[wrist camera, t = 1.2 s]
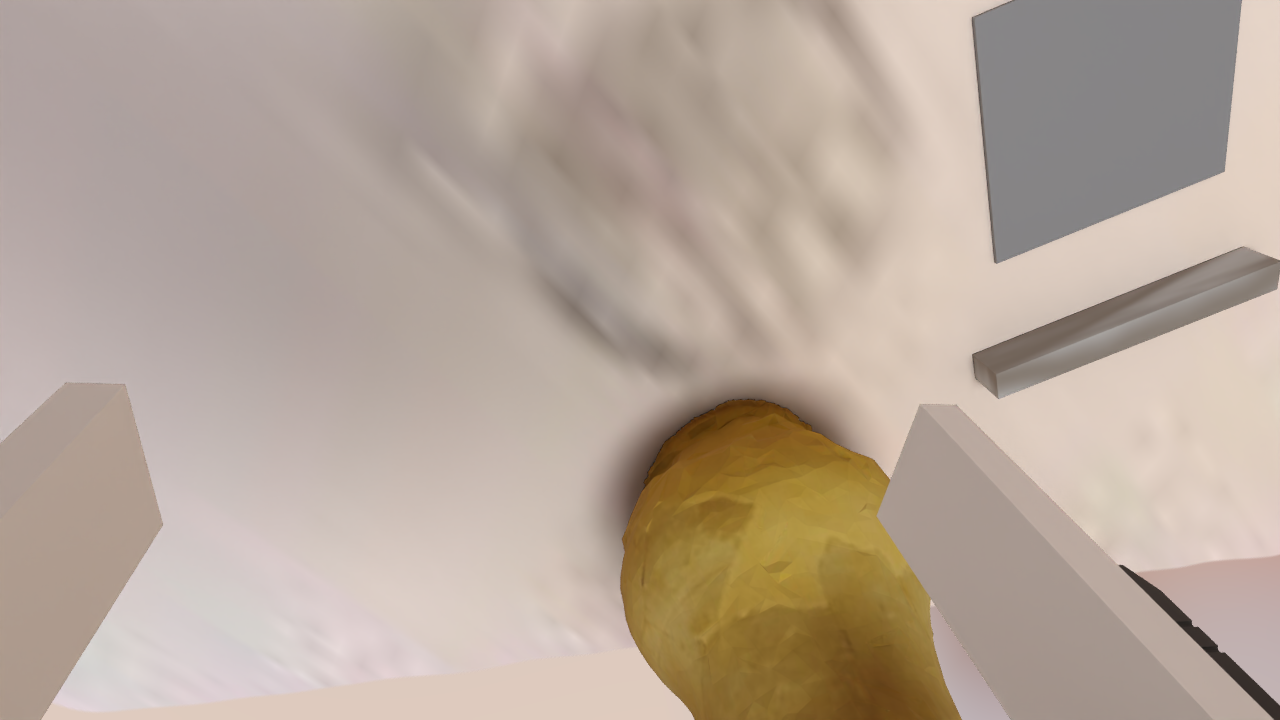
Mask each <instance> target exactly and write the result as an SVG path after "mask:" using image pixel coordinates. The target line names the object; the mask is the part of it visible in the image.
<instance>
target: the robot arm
mask: <svg viewBox="0 0 1280 720" xmlns="http://www.w3.org/2000/svg"><path fill="white" fill-rule="evenodd" d="M877 518H878V519H879V521H880V522H881V524H882V525H883V527H884V528H885V530H886V531H887V533H888V534H889V536H890V537H891V539H892V540H893V542H894V543H895V545H896V546H897V548H898V549H899V551H900V553H901V554H902V556H903V557H904V559H905V560H906V562H907V563H908V565H909V566H910V568H911V569H912V571H913V572H914V574H915V575H916V577H917V578H918V580H919V581H920V583H921V584H922V586H923V587H924V589H925V590H926V592H927V593H928V595H929V596H930V598H931V600H932V601H933V603H934V604H935V606H936V607H937V609H938V610H939V612H940V613H941V615H942V616H943V618H944V619H945V621H946V622H947V624H948V625H949V627H950V628H951V630H952V631H953V633H954V634H955V636H956V637H957V639H958V640H959V642H960V643H961V645H962V646H963V648H964V649H965V651H966V652H967V654H968V656H969V657H970V659H971V660H972V662H973V663H974V665H975V666H976V667H977V669H978V671H979V672H980V674H981V675H982V677H983V678H984V680H985V681H986V683H987V684H988V686H989V687H990V689H991V690H992V692H993V693H994V695H995V696H996V698H997V699H998V701H999V702H1000V704H1001V706H1002V707H1003V709H1004V710H1005V712H1006V713H1007V715H1008V716H1009V718H1010V719H1011V720H1280V705H1279V704H1278V703H1276V701H1274V700H1273V699H1272V698H1271V697H1270V696H1269V695H1268V694H1267V693H1266V692H1265V691H1264V690H1263V689H1262V688H1261V687H1260V686H1259V685H1258V684H1257V683H1256V682H1255V681H1254V680H1253V679H1252V678H1251V677H1250V676H1249V675H1248V674H1246V673H1245V672H1244V671H1243V670H1242V669H1241V668H1240V667H1239V666H1238V665H1237V664H1236V663H1235V662H1234V661H1233V660H1232V659H1231V658H1230V657H1229V656H1228V655H1227V654H1226V653H1221V652H1219V651H1218V645H1216V644H1215V643H1214V642H1213V641H1212V640H1211V639H1210V638H1209V637H1208V636H1207V635H1206V634H1205V633H1204V632H1203V631H1202V630H1201V629H1200V628H1199V627H1193V625H1192V621H1191V619H1189V618H1188V617H1187V616H1186V615H1185V614H1184V613H1183V612H1182V611H1181V610H1180V609H1179V608H1178V607H1177V606H1176V605H1175V604H1174V603H1173V602H1172V601H1171V600H1170V599H1169V598H1168V597H1167V596H1166V595H1165V594H1164V593H1163V592H1162V591H1160V590H1159V589H1157V588H1156V587H1154V586H1153V585H1152V584H1150V583H1148V582H1147V581H1146V580H1144V579H1143V578H1141V577H1140V576H1138V575H1137V574H1135V573H1134V572H1132V571H1131V570H1129V569H1128V568H1126V567H1125V566H1123V565H1117V564H1116V563H1115V562H1114V561H1113V560H1112V559H1111V558H1110V557H1109V556H1108V555H1107V554H1106V553H1105V552H1104V551H1103V550H1102V549H1101V548H1100V547H1099V546H1098V545H1097V544H1096V543H1095V542H1094V541H1093V540H1092V539H1091V538H1090V537H1089V536H1088V535H1087V534H1086V533H1085V532H1084V531H1083V530H1082V529H1081V528H1080V527H1079V526H1078V525H1077V524H1076V523H1075V522H1074V521H1073V520H1072V519H1071V518H1070V517H1069V516H1068V515H1067V514H1066V513H1065V512H1064V511H1063V510H1062V509H1061V508H1060V507H1059V506H1058V505H1057V504H1056V503H1055V502H1054V501H1053V500H1052V499H1051V498H1050V497H1049V496H1048V495H1047V494H1046V493H1045V492H1044V491H1043V490H1042V489H1041V488H1040V487H1039V486H1038V485H1037V484H1036V483H1035V482H1034V481H1033V480H1032V479H1031V478H1030V477H1029V476H1028V475H1027V474H1026V473H1025V472H1024V471H1023V470H1022V469H1021V468H1020V467H1019V466H1018V465H1017V464H1016V463H1015V462H1014V461H1012V460H1011V459H1010V458H1009V457H1008V456H1007V455H1006V454H1005V453H1004V452H1003V451H1002V450H1001V449H1000V448H999V447H998V446H997V445H996V444H995V443H994V442H993V441H992V440H991V439H990V438H989V437H988V436H987V435H986V434H985V433H984V432H983V431H982V430H981V429H980V428H979V427H978V426H977V425H976V424H975V423H974V422H973V421H972V420H971V419H970V418H969V417H968V416H967V415H966V414H965V413H964V412H963V411H962V410H961V409H960V408H959V407H958V406H957V405H942V404H920V405H919V408H918V411H917V413H916V416H915V418H914V421H913V423H912V426H911V429H910V431H909V434H908V436H907V439H906V441H905V444H904V447H903V449H902V452H901V454H900V457H899V459H898V462H897V465H896V467H895V470H894V472H893V475H892V477H891V480H890V483H889V485H888V488H887V490H886V493H885V495H884V498H883V501H882V503H881V506H880V508H879V511H878V513H877ZM162 526H163V522H162V519H161V515H160V511H159V508H158V504H157V500H156V497H155V493H154V489H153V485H152V482H151V478H150V474H149V471H148V467H147V463H146V460H145V456H144V452H143V448H142V445H141V441H140V437H139V434H138V430H137V426H136V423H135V419H134V415H133V411H132V408H131V404H130V400H129V397H128V393H127V389H126V386H125V384H97V383H65V384H64V385H63V386H62V387H61V388H59V389H58V390H57V391H56V392H55V393H54V394H53V395H52V396H51V397H50V398H49V399H48V400H47V401H46V402H44V403H43V404H42V405H41V406H40V407H39V408H38V409H37V410H36V411H35V412H34V413H33V414H32V415H31V416H29V417H28V418H27V419H26V420H25V421H24V422H23V423H22V424H21V425H20V426H19V427H18V428H17V429H15V430H14V431H13V432H12V433H11V434H10V435H9V436H8V437H7V438H6V439H5V440H4V441H3V442H2V443H0V720H41V719H42V717H43V716H44V714H45V713H46V711H47V709H48V708H49V706H50V705H51V703H52V701H53V700H54V698H55V697H56V695H57V693H58V692H59V690H60V689H61V687H62V685H63V684H64V682H65V681H66V679H67V677H68V676H69V674H70V673H71V671H72V669H73V668H74V666H75V665H76V663H77V661H78V660H79V658H80V657H81V655H82V653H83V652H84V650H85V649H86V647H87V645H88V644H89V642H90V641H91V639H92V637H93V636H94V634H95V633H96V631H97V629H98V628H99V626H100V625H101V623H102V622H103V620H104V618H105V617H106V615H107V614H108V612H109V610H110V609H111V607H112V606H113V604H114V602H115V601H116V599H117V598H118V596H119V594H120V593H121V591H122V590H123V588H124V586H125V585H126V583H127V582H128V580H129V578H130V577H131V575H132V574H133V572H134V570H135V569H136V567H137V566H138V564H139V562H140V561H141V559H142V558H143V556H144V554H145V553H146V551H147V550H148V548H149V546H150V545H151V543H152V542H153V540H154V538H155V537H156V535H157V534H158V532H159V530H160V529H161V527H162Z"/></svg>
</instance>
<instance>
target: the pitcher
mask: <svg viewBox="0 0 1280 720" xmlns="http://www.w3.org/2000/svg"><path fill="white" fill-rule="evenodd" d="M798 419H799V417H798V416H796V415H793V413H792V412H791V411H790V410H789V409H787V408H781V407H780V406H779V405H776V404H774V403H769V402H766V401H764V400H759V401H755V400H749V399H748V400H744V401H743V400H741V399H740V400H736V401H735V400H734V399H733V400H732V401H729V400H728V402H726V403H724V404H720V405H718V406H717V407H716V409H715V410H710V411H709V412H708V413H706V414H702V415H700V417H694V420H691V422H690V423H688V424H686V425H685V426H684V428H682V427H681V430H678V432H677V434H676V435H675V436H674V435H673V436H672V437H671V438H669V439H668V440H667V441H665V443H664V444H663V446H662V449H660V452H659V453H658V455H657V458H656V461H655V463H653V466H652V467H650V470H649V471H648V476H649V477H648V478H646V479H645V481H644V482H643V483H644V484H645V487H644V490H643V491H642V492H641V494H640V497H639V499H638V501H637V503H636V505H635V508H634V510H633V512H632V514H631V517H630V519H629V522H628V525H627V528H626V531H625V533H624V536H623V538H622V541H623V545H624V550H625V554H624V558H623V564H622V570H621V584H620V589H621V594H622V599H623V603H624V610H625V616H626V621H627V624H628V627H629V630H630V633H631V635H632V637H633V639H634V641H635V643H636V645H637V647H638V648H639V650H640V652H641V654H642V655H643V657H644V658H645V660H646V661H647V663H648V664H649V666H650V667H651V668H652V669H653V671H654V672H655V673H656V674H657V676H658V677H659V678H660V679H661V681H662V682H663V683H664V684H665V685H666V686H667V687H668V688H669V689H670V690H671V691H672V692H673V693H674V694H675V695H676V696H677V697H678V698H679V699H680V700H681V701H682V702H683V703H684V704H685V705H686V706H687V707H688V709H689V710H690V712H691V713H692V715H693V717H694V719H695V720H962V719H961V717H960V715H959V713H958V710H957V708H956V706H955V704H954V702H953V700H952V698H951V695H950V693H949V691H948V689H947V686H946V684H945V681H944V678H943V675H942V671H941V668H940V664H939V661H938V657H937V654H936V651H935V647H934V642H933V632H932V628H931V622H930V621H931V620H930V600H931V598H930V596H929V595H928V593H927V592H926V590H925V589H924V587H923V586H922V584H921V583H920V581H919V580H918V578H917V577H916V575H915V574H914V572H913V571H912V569H911V568H910V566H909V565H908V563H907V562H906V560H905V559H904V557H903V556H902V554H901V553H900V551H899V549H898V548H897V546H896V545H895V543H894V542H893V540H892V539H891V537H890V536H889V534H888V533H887V531H886V530H885V528H884V527H883V525H882V524H881V522H880V521H879V519H878V518H877V513H878V511H879V508H880V506H881V503H882V501H883V498H884V495H885V493H886V490H887V488H888V485H889V483H890V479H889V478H888V477H887V475H886V474H885V473H884V472H883V470H882V469H881V468H880V467H879V466H878V464H877V463H876V462H875V460H873V459H871V458H869V457H866V456H863V455H861V454H858V453H855V452H852V451H850V450H848V449H846V448H844V447H842V446H840V445H838V444H835V443H834V442H832V441H831V440H829V439H828V438H826V437H825V436H823V435H822V434H820V433H816V432H812V427H811V425H808V424H805V423H804V422H801V421H800V420H798Z"/></svg>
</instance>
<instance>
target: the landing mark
mask: <svg viewBox="0 0 1280 720" xmlns="http://www.w3.org/2000/svg"><path fill="white" fill-rule="evenodd" d="M1241 3H1242V0H1012V1H1010V2H1008V3H1005V4H1003V5H1001V6H998V7H996V8H994V9H991V10H989V11H987V12H984V13H982V14H979V15H977V16H975V17H972V22H973V33H974V44H975V55H976V65H977V76H978V87H979V98H980V109H981V119H982V130H983V141H984V152H985V163H986V173H987V184H988V195H989V206H990V217H991V227H992V238H993V249H994V260H995V263H996V264H997V263H1000V262H1002V261H1005V260H1007V259H1010V258H1012V257H1015V256H1017V255H1020V254H1022V253H1024V252H1027V251H1029V250H1032V249H1034V248H1037V247H1039V246H1042V245H1044V244H1047V243H1049V242H1052V241H1054V240H1057V239H1059V238H1062V237H1064V236H1066V235H1069V234H1071V233H1074V232H1076V231H1079V230H1081V229H1084V228H1086V227H1089V226H1091V225H1094V224H1096V223H1099V222H1101V221H1104V220H1106V219H1109V218H1111V217H1113V216H1116V215H1118V214H1121V213H1123V212H1126V211H1128V210H1131V209H1133V208H1136V207H1138V206H1141V205H1143V204H1146V203H1148V202H1151V201H1153V200H1155V199H1158V198H1160V197H1163V196H1165V195H1168V194H1170V193H1173V192H1175V191H1178V190H1180V189H1183V188H1185V187H1188V186H1190V185H1193V184H1195V183H1198V182H1200V181H1202V180H1205V179H1207V178H1210V177H1212V176H1215V175H1217V174H1220V173H1222V172H1225V162H1226V152H1227V142H1228V132H1229V122H1230V112H1231V102H1232V92H1233V82H1234V73H1235V63H1236V53H1237V43H1238V33H1239V23H1240V13H1241Z"/></svg>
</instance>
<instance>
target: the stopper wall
mask: <svg viewBox="0 0 1280 720" xmlns="http://www.w3.org/2000/svg"><path fill="white" fill-rule="evenodd" d="M1279 274H1280V260H1277V259H1274V258H1272V257H1269V256H1267V255H1264V254H1261V253H1259V252H1256V251H1254V250H1251V249H1248V248H1246V247H1241V248H1239V249H1236V250H1234V251H1231V252H1229V253H1226V254H1224V255H1221V256H1219V257H1216V258H1214V259H1211V260H1209V261H1206V262H1204V263H1201V264H1199V265H1196V266H1194V267H1191V268H1188V269H1186V270H1183V271H1181V272H1178V273H1176V274H1173V275H1171V276H1168V277H1166V278H1163V279H1161V280H1158V281H1156V282H1153V283H1151V284H1148V285H1146V286H1143V287H1141V288H1138V289H1136V290H1133V291H1131V292H1128V293H1126V294H1123V295H1121V296H1118V297H1116V298H1113V299H1111V300H1108V301H1106V302H1103V303H1101V304H1098V305H1096V306H1093V307H1091V308H1088V309H1086V310H1083V311H1081V312H1078V313H1076V314H1073V315H1071V316H1068V317H1066V318H1063V319H1061V320H1058V321H1055V322H1053V323H1050V324H1048V325H1045V326H1043V327H1040V328H1038V329H1035V330H1033V331H1030V332H1028V333H1025V334H1023V335H1020V336H1018V337H1015V338H1013V339H1010V340H1008V341H1005V342H1003V343H1000V344H998V345H995V346H993V347H990V348H988V349H985V350H983V351H980V352H978V353H975V354H973V362H974V370H975V378H976V379H977V380H978V381H979V382H980V383H981V384H982V385H983V386H985V387H986V388H987V389H988V390H989V391H990V392H991V393H992V394H993V395H995V396H996V397H997V398H998V399H1000V398H1003V397H1005V396H1008V395H1010V394H1013V393H1015V392H1018V391H1020V390H1023V389H1025V388H1028V387H1030V386H1033V385H1036V384H1038V383H1041V382H1043V381H1046V380H1048V379H1051V378H1053V377H1056V376H1058V375H1061V374H1063V373H1066V372H1068V371H1071V370H1074V369H1076V368H1079V367H1081V366H1084V365H1086V364H1089V363H1091V362H1094V361H1096V360H1099V359H1101V358H1104V357H1107V356H1109V355H1112V354H1114V353H1117V352H1119V351H1122V350H1124V349H1127V348H1129V347H1132V346H1134V345H1137V344H1139V343H1142V342H1145V341H1147V340H1150V339H1152V338H1155V337H1157V336H1160V335H1162V334H1165V333H1167V332H1170V331H1172V330H1175V329H1177V328H1180V327H1183V326H1185V325H1188V324H1190V323H1193V322H1195V321H1198V320H1200V319H1203V318H1205V317H1208V316H1210V315H1213V314H1216V313H1218V312H1221V311H1223V310H1226V309H1228V308H1231V307H1233V306H1236V305H1238V304H1241V303H1243V302H1246V301H1248V300H1251V299H1254V298H1256V297H1259V296H1261V295H1264V294H1266V293H1269V292H1271V291H1274V290H1276V289H1277V287H1278V280H1279Z"/></svg>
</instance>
